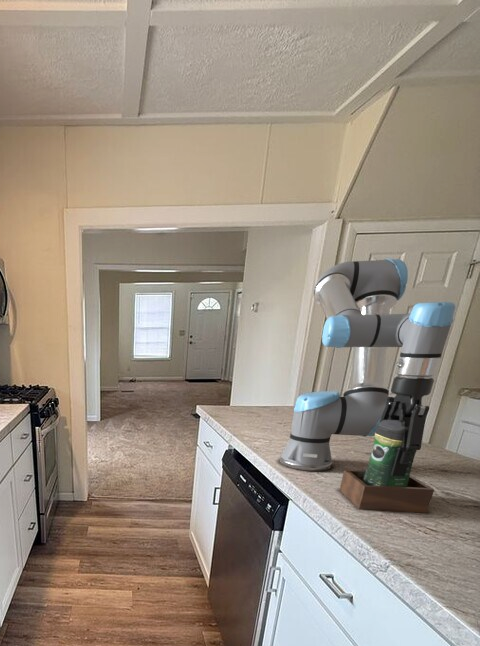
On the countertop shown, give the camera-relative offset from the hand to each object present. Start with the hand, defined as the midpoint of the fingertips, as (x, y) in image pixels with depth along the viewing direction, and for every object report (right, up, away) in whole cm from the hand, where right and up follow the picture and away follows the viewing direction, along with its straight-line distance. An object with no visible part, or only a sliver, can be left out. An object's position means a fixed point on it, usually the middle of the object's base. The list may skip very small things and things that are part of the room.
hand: (388, 469), depth 101 cm
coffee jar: (0, -6, +3) cm, 7 cm away
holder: (0, -8, +3) cm, 9 cm away
